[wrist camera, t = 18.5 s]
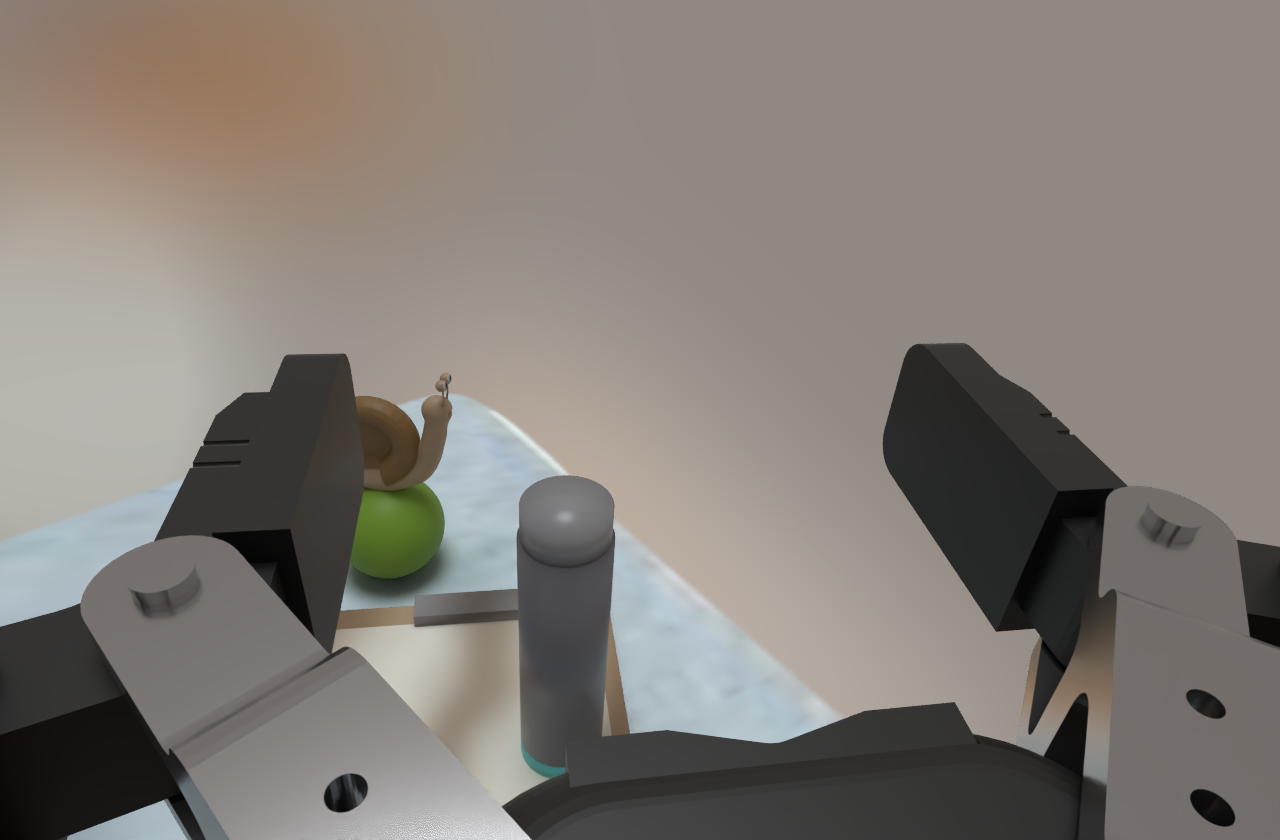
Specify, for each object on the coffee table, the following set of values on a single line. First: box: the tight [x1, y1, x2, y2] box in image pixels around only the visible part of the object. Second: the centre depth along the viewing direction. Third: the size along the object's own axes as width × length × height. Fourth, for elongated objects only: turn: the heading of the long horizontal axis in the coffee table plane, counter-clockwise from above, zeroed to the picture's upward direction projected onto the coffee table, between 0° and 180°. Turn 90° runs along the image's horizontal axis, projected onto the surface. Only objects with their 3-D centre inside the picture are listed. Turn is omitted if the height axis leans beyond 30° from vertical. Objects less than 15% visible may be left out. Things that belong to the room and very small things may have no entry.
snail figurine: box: [349, 373, 452, 578], centre depth 40 cm, size 5×6×12 cm
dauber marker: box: [517, 476, 615, 778], centre depth 31 cm, size 3×3×13 cm
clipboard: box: [332, 589, 630, 806], centre depth 36 cm, size 14×12×1 cm
